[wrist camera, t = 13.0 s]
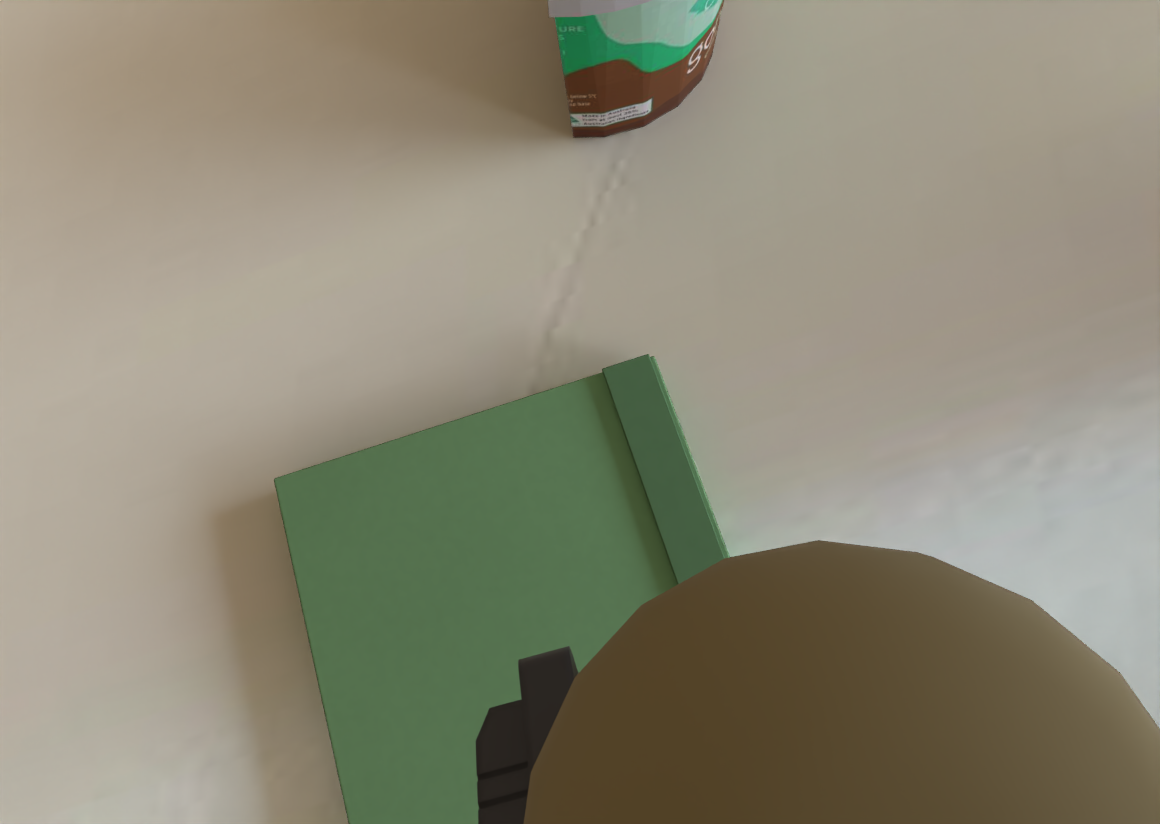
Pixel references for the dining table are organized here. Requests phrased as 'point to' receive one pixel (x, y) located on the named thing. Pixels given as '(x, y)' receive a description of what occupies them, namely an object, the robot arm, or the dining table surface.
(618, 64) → the food container
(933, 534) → the dining table surface
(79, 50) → the dining table surface
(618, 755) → the cork
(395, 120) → the dining table surface
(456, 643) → the green flat rectangular block
